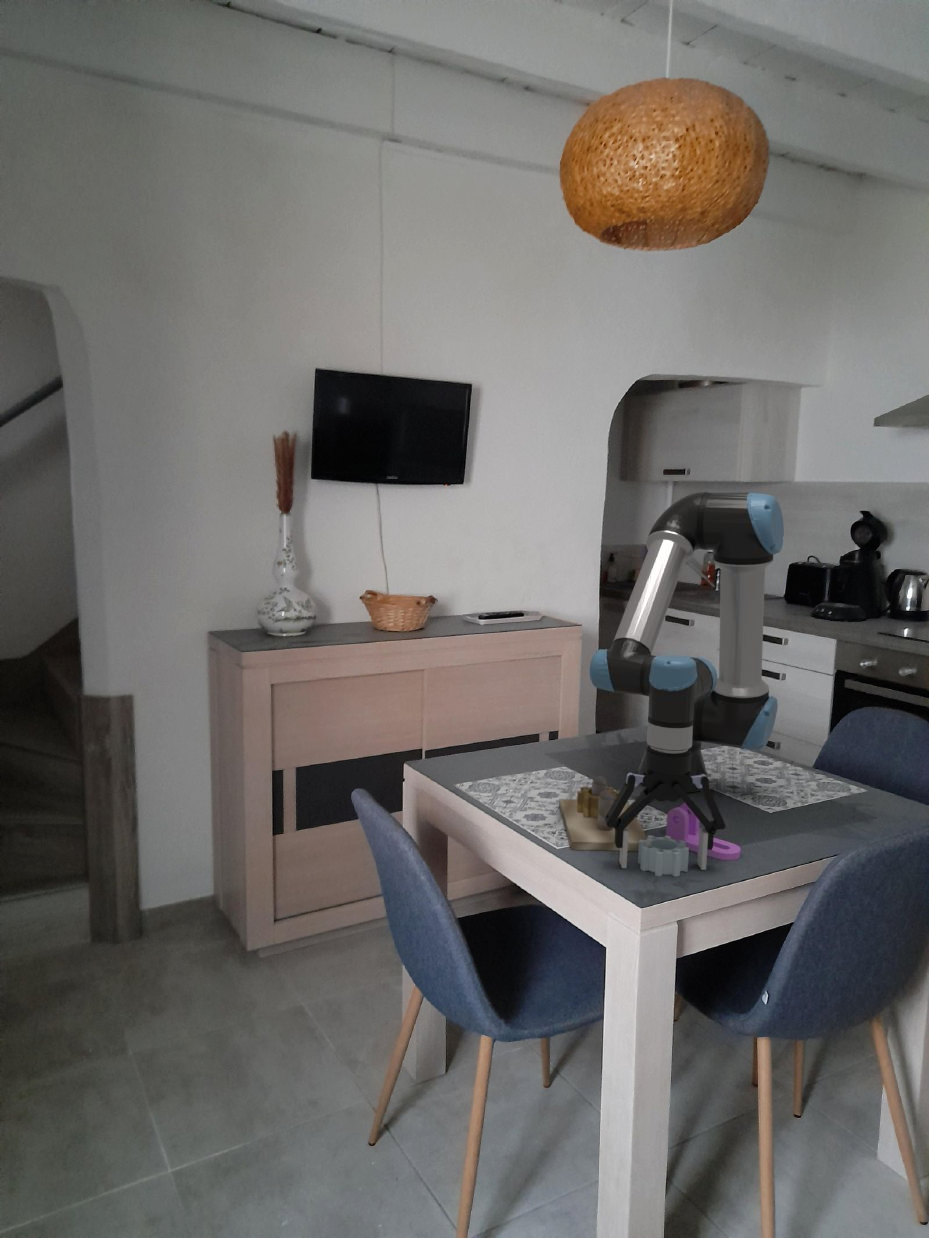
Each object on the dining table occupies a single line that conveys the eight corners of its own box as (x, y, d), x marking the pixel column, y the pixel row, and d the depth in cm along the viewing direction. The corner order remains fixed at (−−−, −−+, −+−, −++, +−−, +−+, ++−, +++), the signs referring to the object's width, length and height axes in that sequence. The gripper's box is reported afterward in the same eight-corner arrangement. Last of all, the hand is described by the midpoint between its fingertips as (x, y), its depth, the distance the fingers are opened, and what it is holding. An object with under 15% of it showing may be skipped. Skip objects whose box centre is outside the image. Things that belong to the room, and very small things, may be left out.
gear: (680, 857, 157) (681, 835, 157) (692, 877, 149) (693, 854, 148) (634, 856, 157) (635, 834, 157) (643, 876, 149) (644, 853, 148)
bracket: (665, 842, 164) (667, 807, 163) (680, 834, 168) (682, 799, 167) (731, 863, 155) (734, 826, 154) (745, 854, 159) (748, 817, 158)
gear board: (627, 807, 181) (629, 766, 180) (649, 850, 160) (651, 804, 158) (559, 806, 181) (560, 764, 180) (571, 849, 160) (573, 802, 158)
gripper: (735, 742, 154) (728, 858, 157) (592, 739, 154) (587, 855, 157) (749, 755, 146) (741, 876, 149) (598, 751, 146) (593, 873, 149)
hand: (662, 866), depth 153 cm, fingers open, 13 cm apart
